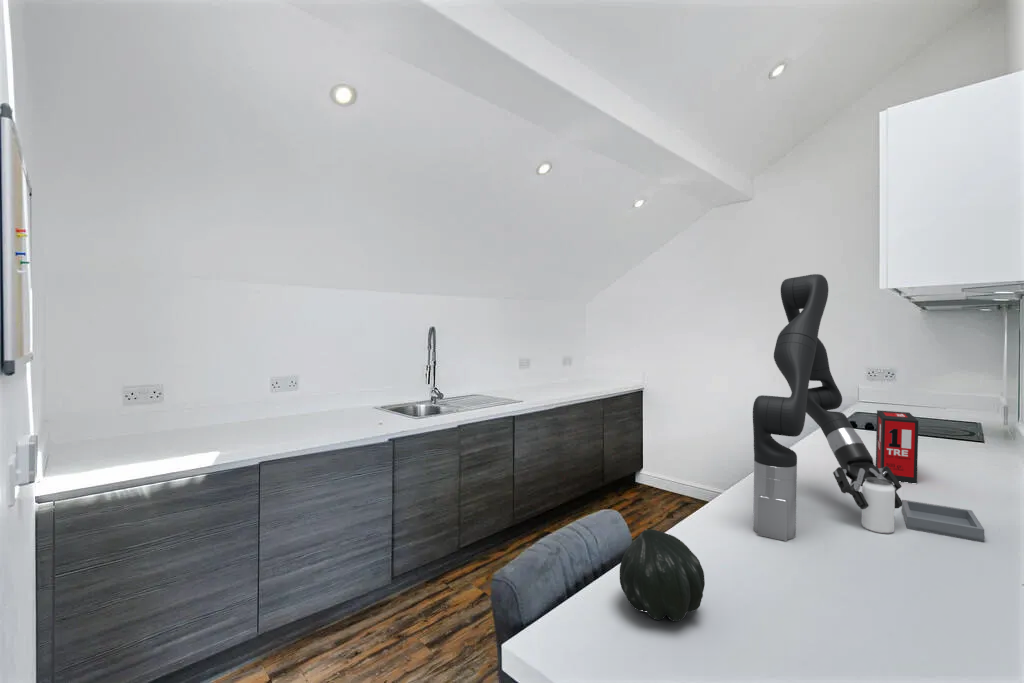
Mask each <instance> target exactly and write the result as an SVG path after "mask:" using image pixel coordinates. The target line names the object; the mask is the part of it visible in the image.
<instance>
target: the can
mask: <svg viewBox="0 0 1024 683" xmlns="http://www.w3.org/2000/svg"><path fill="white" fill-rule="evenodd" d="M892 484H893V485H894V483H893V482H891V481H889V480H886V479H882V478H874V477H868V478H865V481H864V483H863V486H861V487H862V489H861V490H862V491H861V492H862V494H863V496H864V498H865V500H866V501H867V503H868V507H867V508H866V509H861V526H862V527H863V528H864V529H865V530H867V531H870V532H872V533H877V534H885V535H887V534H888V535H889V534H892V533H893V532H894V531H895V509H896V508H895V489H894V487H893V485H892Z"/></svg>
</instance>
